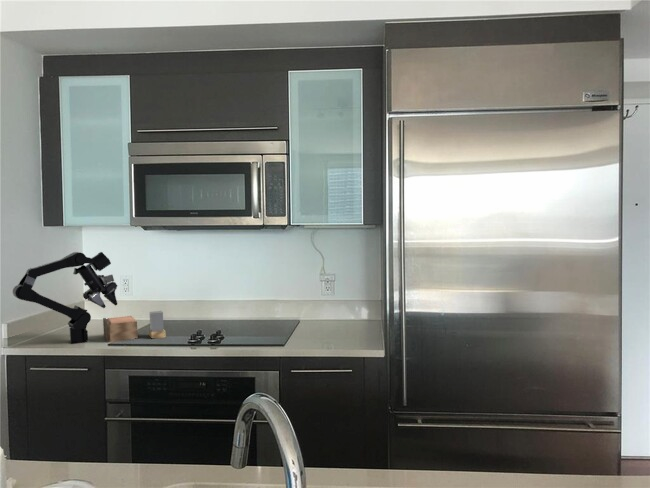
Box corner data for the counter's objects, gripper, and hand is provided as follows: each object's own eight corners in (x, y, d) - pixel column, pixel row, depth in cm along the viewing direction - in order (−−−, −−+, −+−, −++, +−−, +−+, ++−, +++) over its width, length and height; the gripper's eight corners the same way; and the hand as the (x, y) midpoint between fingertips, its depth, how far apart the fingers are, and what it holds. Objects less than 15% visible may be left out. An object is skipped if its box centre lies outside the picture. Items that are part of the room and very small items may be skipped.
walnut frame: (108, 342, 245) (107, 322, 245) (103, 337, 256) (103, 318, 256) (137, 338, 251) (136, 319, 250) (132, 333, 262) (131, 315, 262)
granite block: (151, 331, 250) (150, 313, 249) (150, 329, 254) (149, 311, 254) (163, 330, 252) (162, 312, 251) (162, 328, 256) (161, 310, 256)
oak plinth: (151, 339, 249) (151, 332, 249) (148, 336, 254) (148, 329, 254) (165, 337, 252) (165, 330, 252) (162, 334, 257) (162, 328, 257)
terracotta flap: (110, 324, 247) (109, 321, 246) (106, 320, 255) (106, 318, 255) (135, 321, 251) (135, 318, 251) (131, 317, 260) (130, 315, 260)
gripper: (115, 263, 251) (135, 292, 256) (92, 270, 262) (111, 298, 267) (97, 277, 243) (117, 307, 248) (73, 284, 254) (94, 313, 259)
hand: (110, 306), depth 255 cm, fingers open, 9 cm apart
